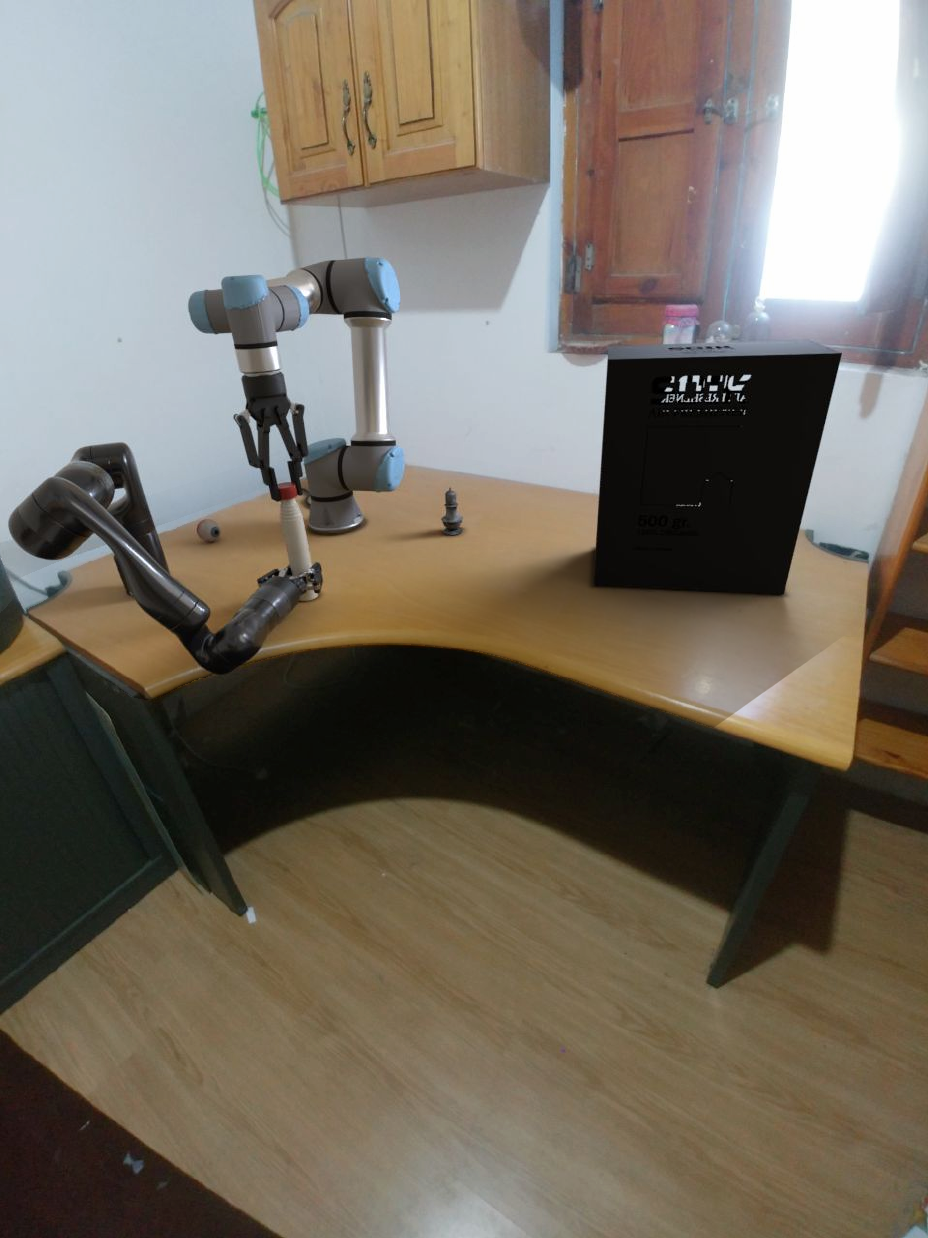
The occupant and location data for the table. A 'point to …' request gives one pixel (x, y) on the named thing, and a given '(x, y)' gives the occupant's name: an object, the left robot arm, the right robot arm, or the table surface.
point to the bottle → (296, 541)
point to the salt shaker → (451, 515)
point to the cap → (287, 490)
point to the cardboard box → (709, 463)
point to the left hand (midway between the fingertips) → (307, 565)
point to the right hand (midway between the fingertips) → (287, 496)
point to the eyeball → (208, 530)
